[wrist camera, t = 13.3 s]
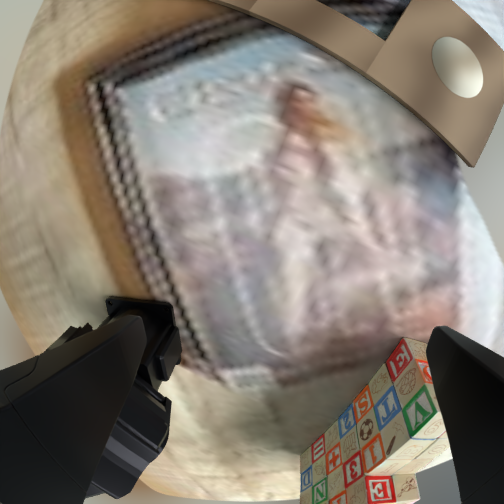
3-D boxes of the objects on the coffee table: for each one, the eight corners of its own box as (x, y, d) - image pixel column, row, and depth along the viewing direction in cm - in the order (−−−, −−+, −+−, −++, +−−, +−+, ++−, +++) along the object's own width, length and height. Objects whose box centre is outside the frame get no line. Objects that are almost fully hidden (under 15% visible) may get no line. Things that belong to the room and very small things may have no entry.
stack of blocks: (401, 334, 23) (453, 444, 11) (446, 347, 23) (499, 440, 11) (299, 455, 30) (298, 537, 19) (340, 460, 30) (346, 537, 19)
